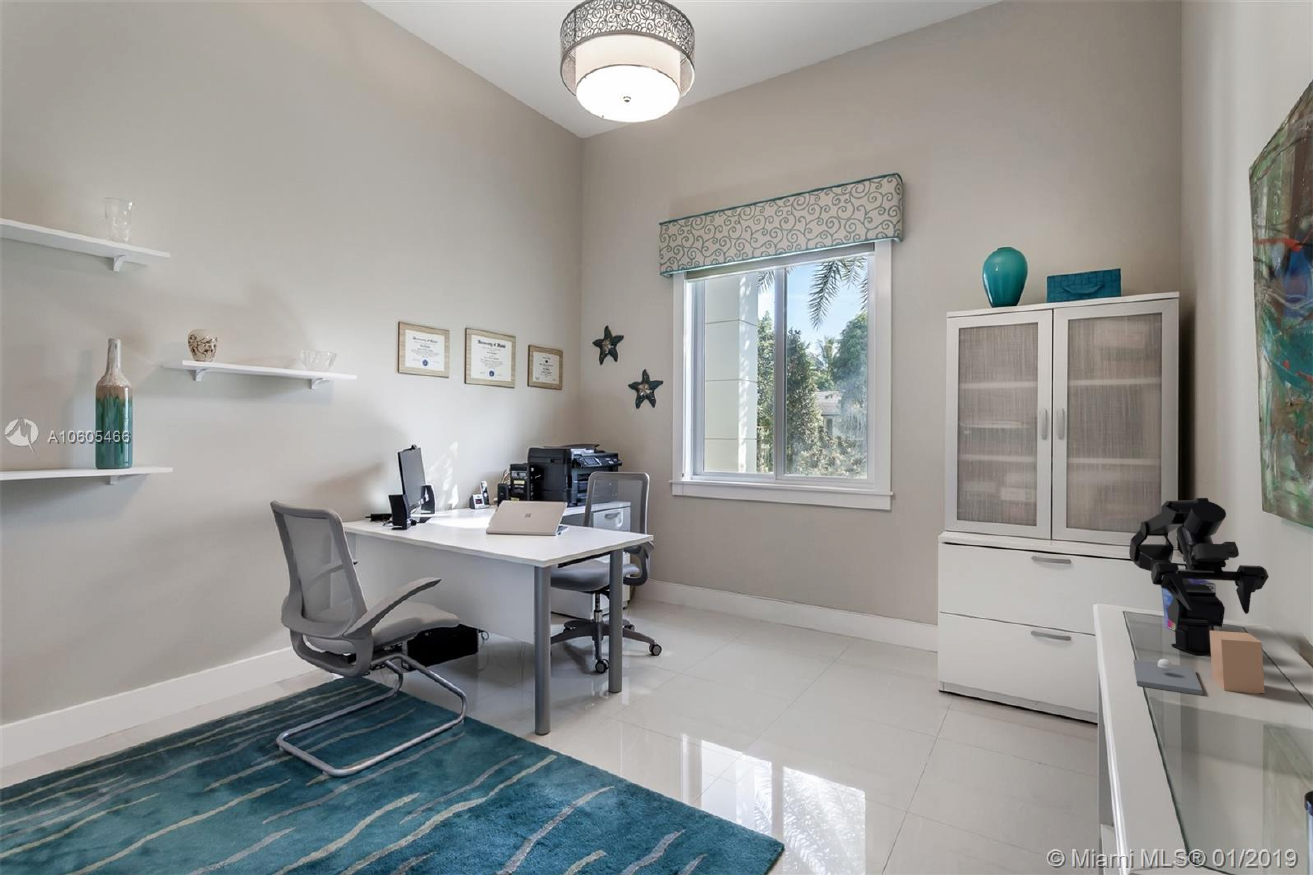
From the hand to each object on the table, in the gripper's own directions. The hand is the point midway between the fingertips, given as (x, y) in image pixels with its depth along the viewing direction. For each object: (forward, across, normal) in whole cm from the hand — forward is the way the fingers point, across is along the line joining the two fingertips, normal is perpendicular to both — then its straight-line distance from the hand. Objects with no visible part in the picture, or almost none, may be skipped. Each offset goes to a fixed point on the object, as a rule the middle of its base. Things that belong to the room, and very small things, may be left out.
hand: (1218, 611), depth 130 cm
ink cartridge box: (-12, +4, +33) cm, 35 cm away
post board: (+14, -11, +3) cm, 19 cm away
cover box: (+15, 0, +3) cm, 15 cm away
